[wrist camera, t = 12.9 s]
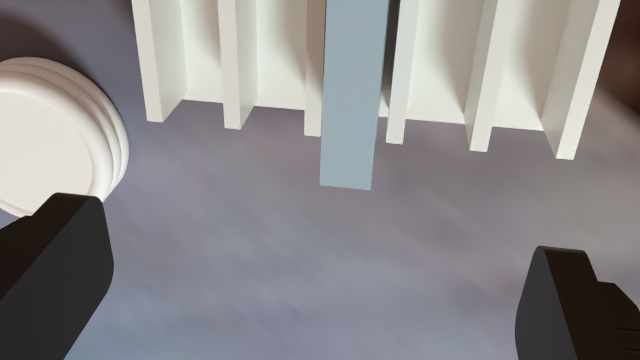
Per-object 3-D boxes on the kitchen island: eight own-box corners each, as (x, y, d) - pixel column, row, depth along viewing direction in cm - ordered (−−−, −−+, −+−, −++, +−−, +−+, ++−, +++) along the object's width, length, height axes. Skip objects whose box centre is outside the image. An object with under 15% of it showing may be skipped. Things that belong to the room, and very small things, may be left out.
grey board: (356, -120, 26) (330, -93, 18) (401, -118, 26) (396, -90, 18) (344, 88, 32) (319, 185, 23) (381, 91, 31) (370, 189, 23)
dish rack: (148, -169, 27) (99, -168, 23) (630, -149, 25) (674, -143, 21) (174, 91, 34) (141, 129, 30) (557, 124, 32) (579, 169, 28)
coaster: (164, 145, 37) (142, 173, 34) (71, 221, 41) (44, 252, 38) (35, 19, 33) (-2, 38, 30) (-51, 116, 38) (-91, 141, 35)
